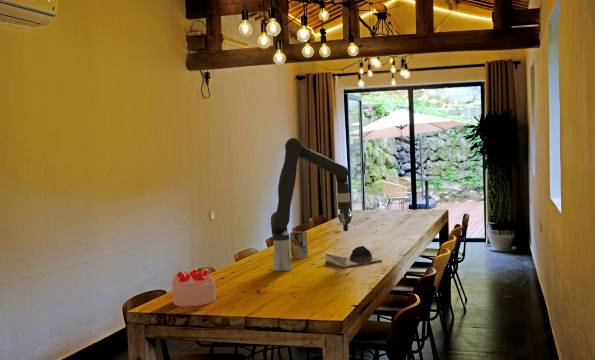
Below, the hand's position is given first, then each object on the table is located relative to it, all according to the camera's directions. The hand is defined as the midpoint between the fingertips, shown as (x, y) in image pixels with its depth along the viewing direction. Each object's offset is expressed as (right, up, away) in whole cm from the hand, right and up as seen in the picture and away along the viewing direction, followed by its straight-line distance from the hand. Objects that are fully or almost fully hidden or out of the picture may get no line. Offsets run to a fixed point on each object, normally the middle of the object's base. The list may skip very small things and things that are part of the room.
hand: (345, 230), depth 349 cm
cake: (-75, -28, -66) cm, 104 cm away
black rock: (+10, -18, +5) cm, 21 cm away
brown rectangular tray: (+4, -19, +2) cm, 19 cm away
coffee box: (-26, -20, +33) cm, 46 cm away
